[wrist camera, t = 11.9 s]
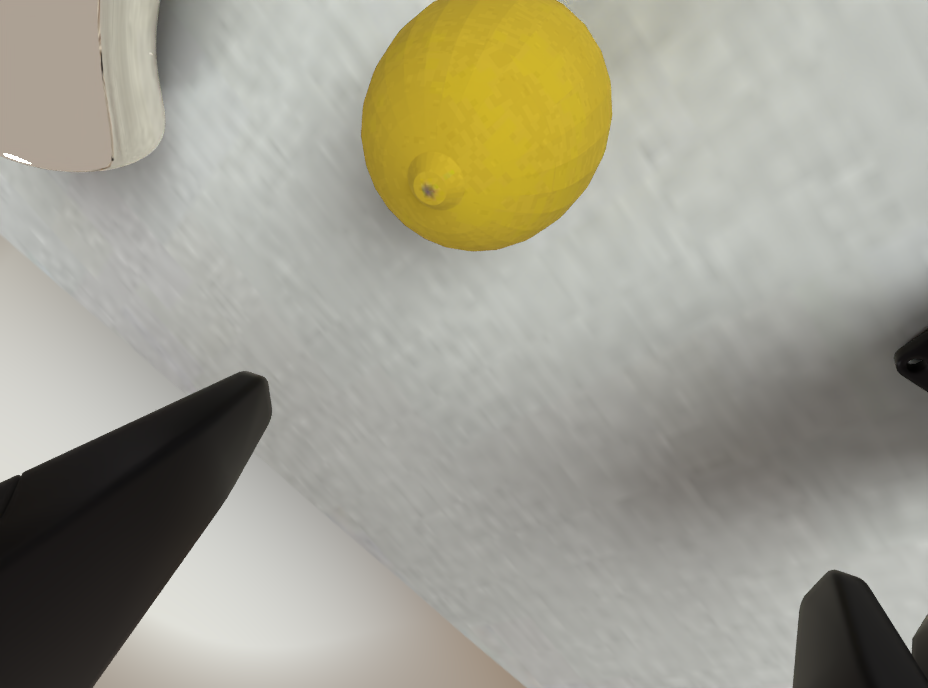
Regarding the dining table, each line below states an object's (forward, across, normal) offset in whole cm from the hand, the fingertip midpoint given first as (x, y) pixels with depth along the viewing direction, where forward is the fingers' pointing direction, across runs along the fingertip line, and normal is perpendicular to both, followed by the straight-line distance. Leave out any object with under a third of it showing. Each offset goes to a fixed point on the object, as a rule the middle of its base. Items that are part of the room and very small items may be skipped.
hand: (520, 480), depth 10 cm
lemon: (+12, +3, -2) cm, 13 cm away
